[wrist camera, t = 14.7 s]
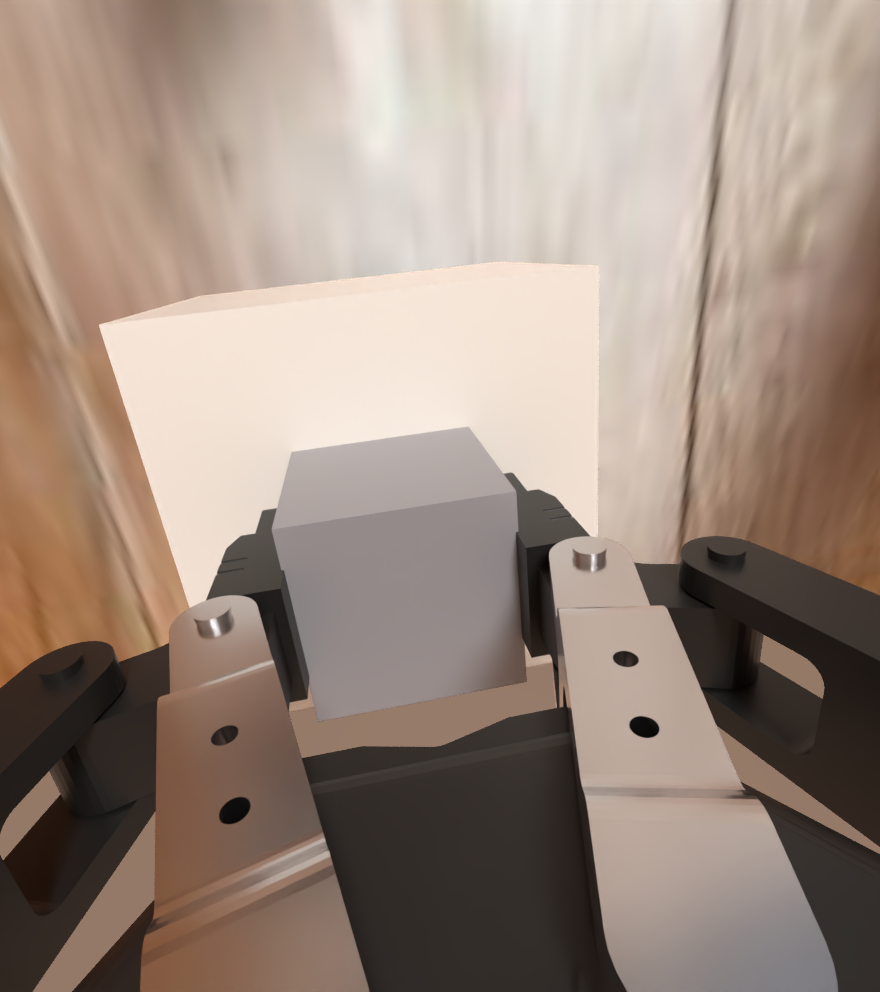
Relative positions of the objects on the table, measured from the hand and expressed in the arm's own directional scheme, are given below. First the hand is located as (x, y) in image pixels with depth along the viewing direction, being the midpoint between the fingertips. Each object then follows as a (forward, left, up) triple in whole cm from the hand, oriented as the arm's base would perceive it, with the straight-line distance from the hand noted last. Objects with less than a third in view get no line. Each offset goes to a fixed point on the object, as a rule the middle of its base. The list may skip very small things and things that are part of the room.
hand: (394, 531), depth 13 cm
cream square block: (0, 0, -10) cm, 10 cm away
